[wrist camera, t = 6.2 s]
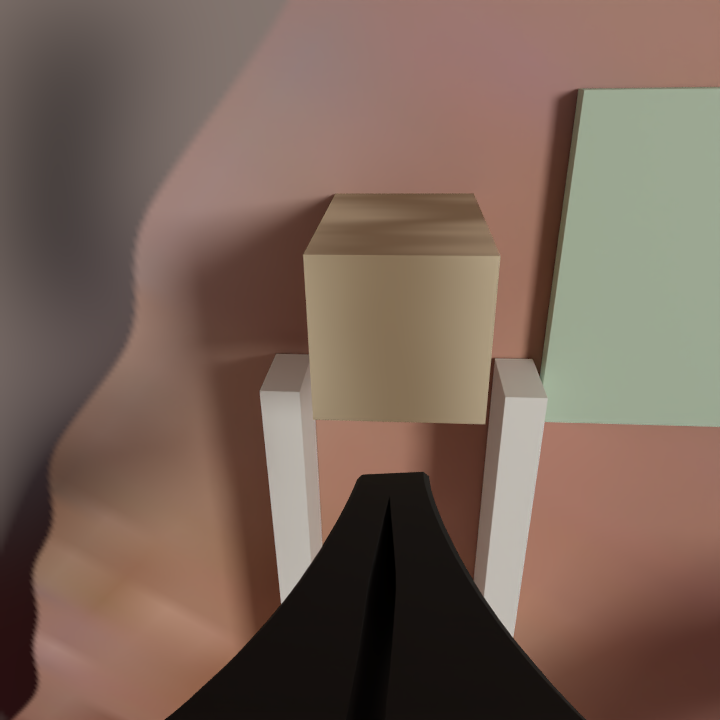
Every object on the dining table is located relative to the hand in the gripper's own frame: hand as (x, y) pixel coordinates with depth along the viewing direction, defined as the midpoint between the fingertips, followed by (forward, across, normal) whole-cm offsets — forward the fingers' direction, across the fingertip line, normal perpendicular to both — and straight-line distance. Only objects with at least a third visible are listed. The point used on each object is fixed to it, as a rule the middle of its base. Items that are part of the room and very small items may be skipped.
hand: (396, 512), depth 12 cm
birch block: (+8, 0, -3) cm, 9 cm away
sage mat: (+8, -9, -1) cm, 13 cm away
